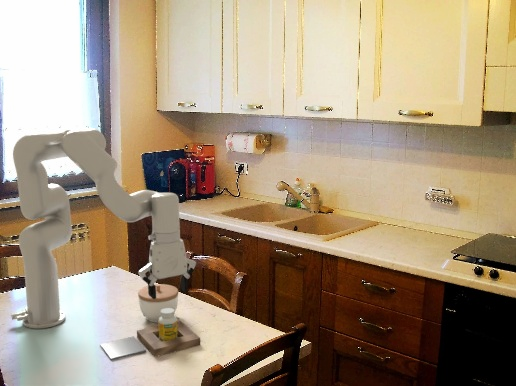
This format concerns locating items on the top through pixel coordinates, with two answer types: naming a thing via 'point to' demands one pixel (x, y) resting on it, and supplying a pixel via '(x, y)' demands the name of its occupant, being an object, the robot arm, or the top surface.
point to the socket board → (158, 348)
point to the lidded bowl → (157, 301)
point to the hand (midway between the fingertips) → (168, 294)
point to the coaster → (122, 348)
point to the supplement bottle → (167, 325)
